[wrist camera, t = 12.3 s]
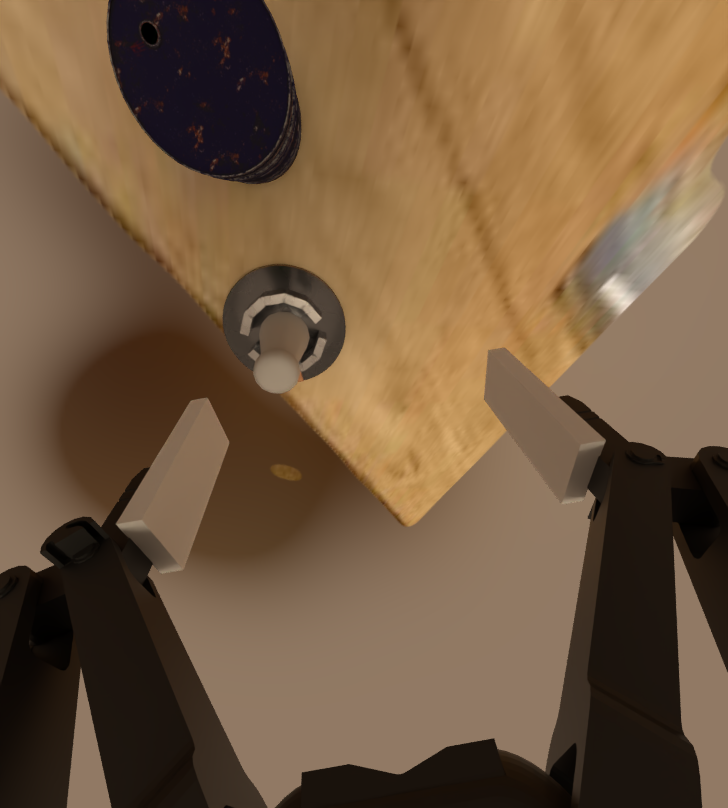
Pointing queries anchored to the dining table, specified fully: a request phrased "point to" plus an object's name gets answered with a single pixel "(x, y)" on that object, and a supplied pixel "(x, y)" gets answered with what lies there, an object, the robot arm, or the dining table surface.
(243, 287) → the socket
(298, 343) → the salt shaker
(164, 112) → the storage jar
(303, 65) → the dining table surface
